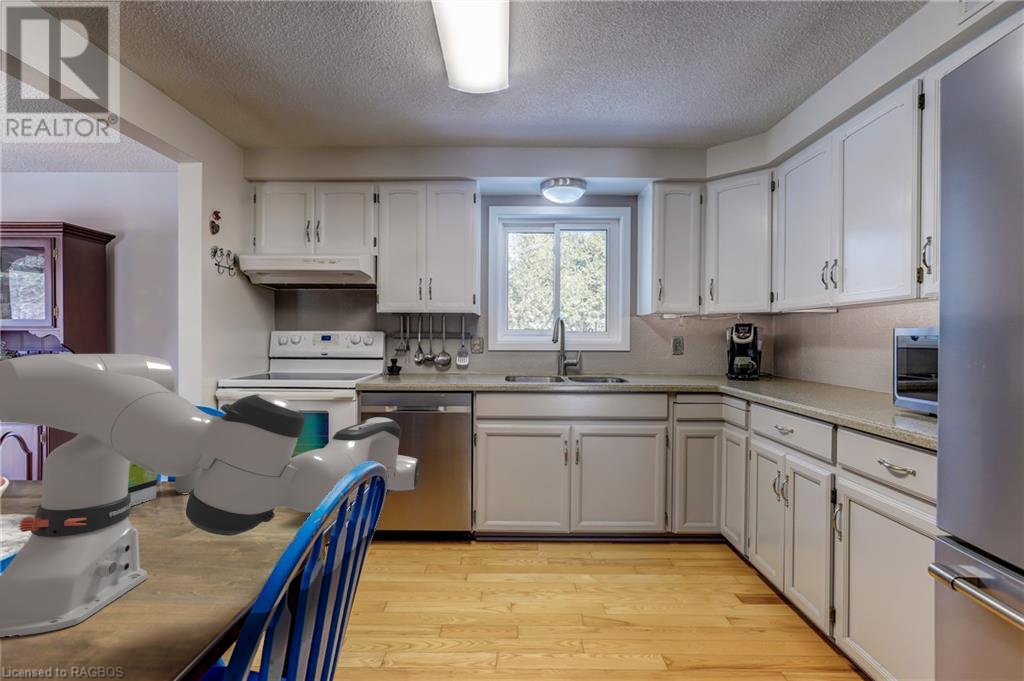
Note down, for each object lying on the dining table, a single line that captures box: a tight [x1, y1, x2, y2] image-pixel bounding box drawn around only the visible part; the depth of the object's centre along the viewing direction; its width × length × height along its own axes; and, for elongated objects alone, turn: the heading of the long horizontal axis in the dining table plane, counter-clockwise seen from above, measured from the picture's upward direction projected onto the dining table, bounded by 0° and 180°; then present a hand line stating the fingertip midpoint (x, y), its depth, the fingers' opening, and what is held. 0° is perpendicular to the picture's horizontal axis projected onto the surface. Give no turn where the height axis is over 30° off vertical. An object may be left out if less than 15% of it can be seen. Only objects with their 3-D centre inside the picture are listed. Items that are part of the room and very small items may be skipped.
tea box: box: [128, 462, 159, 507], centre depth 120 cm, size 15×10×15 cm, turn 171°
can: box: [174, 467, 202, 494], centre depth 134 cm, size 8×8×12 cm
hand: (305, 466), depth 124 cm, fingers closed
